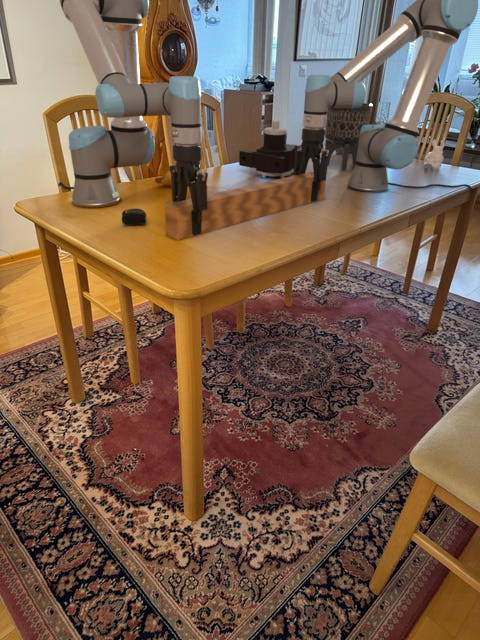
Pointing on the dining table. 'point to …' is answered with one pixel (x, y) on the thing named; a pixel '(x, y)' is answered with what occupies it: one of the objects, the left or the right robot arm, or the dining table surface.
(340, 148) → the rock
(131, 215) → the tape measure
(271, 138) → the mechanical component
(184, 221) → the beam
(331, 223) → the dining table surface
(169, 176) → the toy
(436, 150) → the figurine
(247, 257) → the dining table surface
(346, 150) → the planter
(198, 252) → the dining table surface
